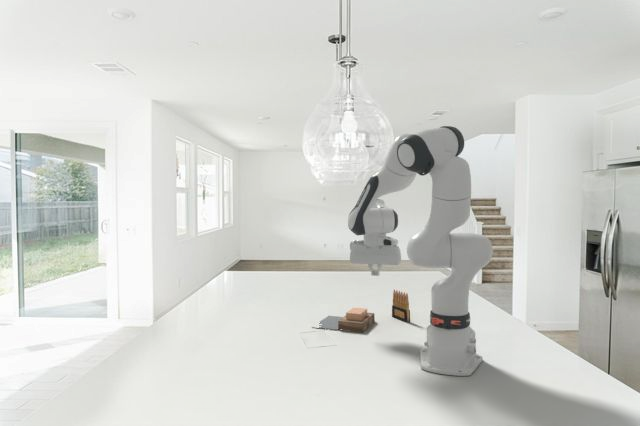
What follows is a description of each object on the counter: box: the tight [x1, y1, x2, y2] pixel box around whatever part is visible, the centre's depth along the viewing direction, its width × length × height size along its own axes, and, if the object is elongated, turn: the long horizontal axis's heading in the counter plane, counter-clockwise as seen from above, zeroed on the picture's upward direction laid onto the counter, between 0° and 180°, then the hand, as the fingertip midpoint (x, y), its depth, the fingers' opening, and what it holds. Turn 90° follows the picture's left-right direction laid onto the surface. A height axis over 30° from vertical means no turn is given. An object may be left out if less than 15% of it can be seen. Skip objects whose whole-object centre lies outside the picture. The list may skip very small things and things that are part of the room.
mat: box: [318, 315, 344, 331], centre depth 171 cm, size 18×11×1 cm, turn 157°
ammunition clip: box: [391, 289, 411, 324], centre depth 175 cm, size 11×2×12 cm, turn 24°
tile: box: [345, 307, 368, 320], centre depth 167 cm, size 9×6×2 cm, turn 157°
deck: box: [338, 312, 376, 333], centre depth 167 cm, size 16×10×4 cm, turn 157°
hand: (375, 275), depth 164 cm, fingers closed
